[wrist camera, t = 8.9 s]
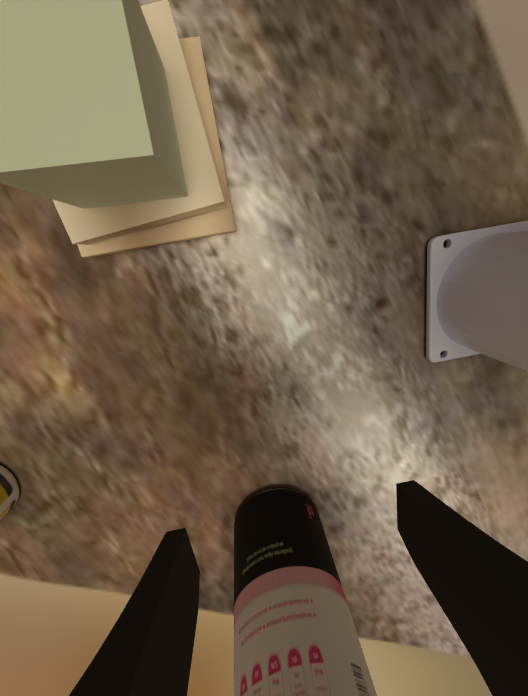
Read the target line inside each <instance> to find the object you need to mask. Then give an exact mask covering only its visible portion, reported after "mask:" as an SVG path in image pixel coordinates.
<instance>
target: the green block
mask: <svg viewBox="0 0 528 696" xmlns="http://www.w3.org/2000/svg"><path fill="white" fill-rule="evenodd" d="M0 183H1V184H4V185H7V186H11V187H14V188H17V189H20V190H24V191H27V192H30V193H33V194H37V195H40V196H43V197H46V198H50V199H53V200H56V201H59V202H63V203H66V204H69V205H73V206H76V207H79V208H82V209H86V208H94V207H103V206H111V205H119V204H128V203H136V202H144V201H153V200H161V199H169V198H178V197H186V196H188V193H187V188H186V182H185V177H184V171H183V166H182V161H181V155H180V150H179V144H178V139H177V133H176V128H175V122H174V117H173V111H172V106H171V100H170V95H169V89H168V84H167V79H166V73H165V68H164V66H163V63H162V61H161V58H160V56H159V53H158V50H157V48H156V45H155V43H154V40H153V38H152V35H151V32H150V30H149V27H148V25H147V22H146V20H145V17H144V15H143V12H142V9H141V7H140V4H139V2H138V0H0Z"/></svg>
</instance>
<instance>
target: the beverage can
mask: <svg viewBox="0 0 528 696" xmlns="http://www.w3.org/2000/svg"><path fill="white" fill-rule="evenodd" d="M234 696H377V695H376V692H375V689H374V685H373V682H372V679H371V676H370V673H369V670H368V667H367V663H366V661H365V657H364V654H363V651H362V648H361V645H360V642H359V639H358V635H357V632H356V629H355V626H354V623H353V620H352V617H351V614H350V610H349V607H348V604H347V601H346V598H345V595H344V592H343V589H342V586H341V582H340V579H339V576H338V573H337V570H336V567H335V564H334V561H333V558H332V554H331V551H330V548H329V545H328V542H327V539H326V536H325V533H324V530H323V526H322V523H321V520H320V517H319V514H318V511H317V508H316V506H315V505H314V503H313V502H312V501H311V499H309V498H308V497H307V496H306V495H304V494H302V493H300V492H298V491H295V490H291V489H282V488H277V489H270V490H266V491H263V492H261V493H259V494H257V495H255V496H253V497H251V498H250V499H249V500H247V501H246V502H245V503H244V504H243V505H242V507H241V508H240V509H239V511H238V513H237V515H236V518H235V523H234Z"/></svg>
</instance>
